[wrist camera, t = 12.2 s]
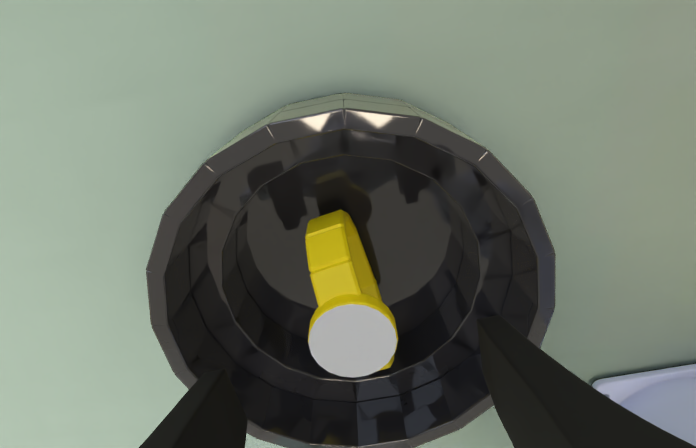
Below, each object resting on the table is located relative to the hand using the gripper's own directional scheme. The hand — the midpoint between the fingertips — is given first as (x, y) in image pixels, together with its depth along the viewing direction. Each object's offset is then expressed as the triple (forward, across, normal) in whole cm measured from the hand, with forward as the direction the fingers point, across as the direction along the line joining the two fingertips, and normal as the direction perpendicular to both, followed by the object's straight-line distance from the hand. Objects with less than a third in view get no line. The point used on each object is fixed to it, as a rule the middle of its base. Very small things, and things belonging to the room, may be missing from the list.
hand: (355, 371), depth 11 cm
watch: (+7, 0, 0) cm, 7 cm away
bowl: (+8, 0, 0) cm, 8 cm away
